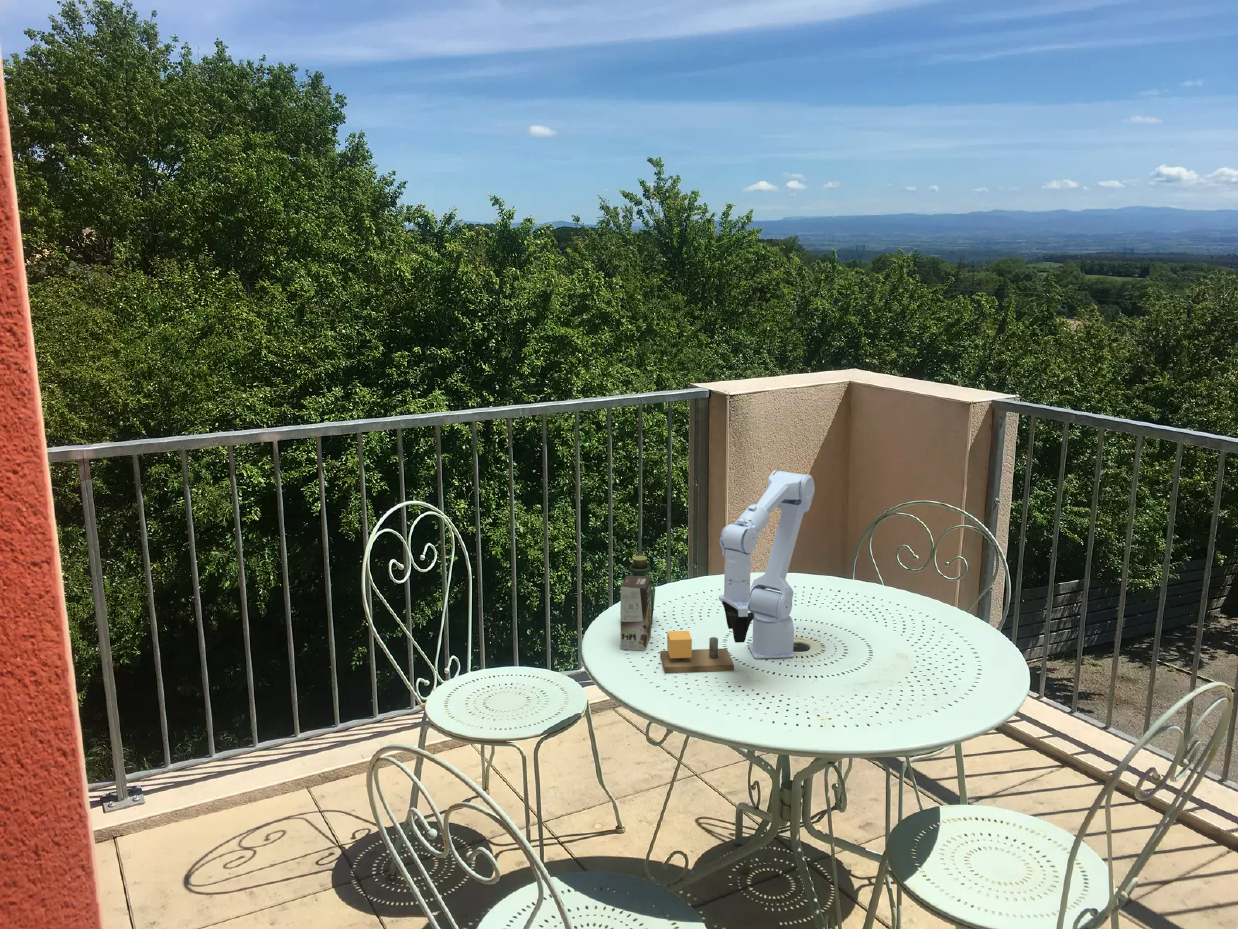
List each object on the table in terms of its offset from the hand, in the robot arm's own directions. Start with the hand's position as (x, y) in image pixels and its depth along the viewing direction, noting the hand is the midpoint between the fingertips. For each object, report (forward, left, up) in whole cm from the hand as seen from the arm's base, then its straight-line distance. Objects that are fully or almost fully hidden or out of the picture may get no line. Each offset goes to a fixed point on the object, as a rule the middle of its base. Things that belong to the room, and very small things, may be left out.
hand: (736, 635), depth 199 cm
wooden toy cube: (+12, -6, -7) cm, 15 cm away
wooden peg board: (+8, -6, -9) cm, 14 cm away
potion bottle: (+19, -31, -10) cm, 38 cm away
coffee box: (+21, -19, -10) cm, 30 cm away
